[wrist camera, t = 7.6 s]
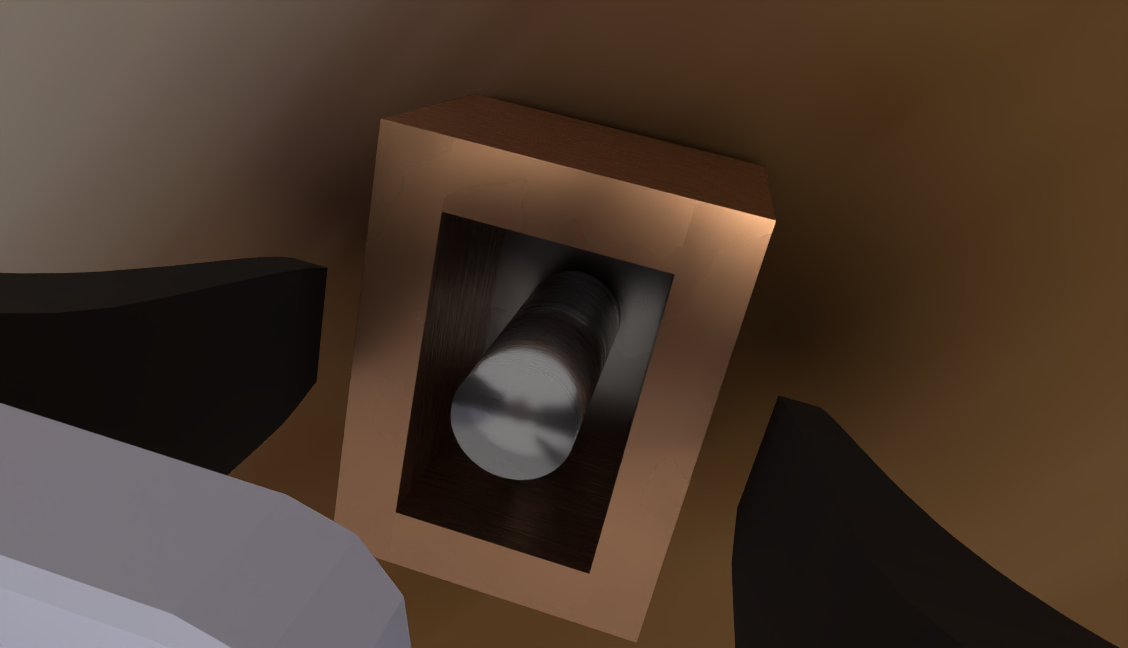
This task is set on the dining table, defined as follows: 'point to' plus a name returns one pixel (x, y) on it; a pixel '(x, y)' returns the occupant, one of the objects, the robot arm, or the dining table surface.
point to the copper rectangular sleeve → (458, 331)
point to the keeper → (557, 356)
